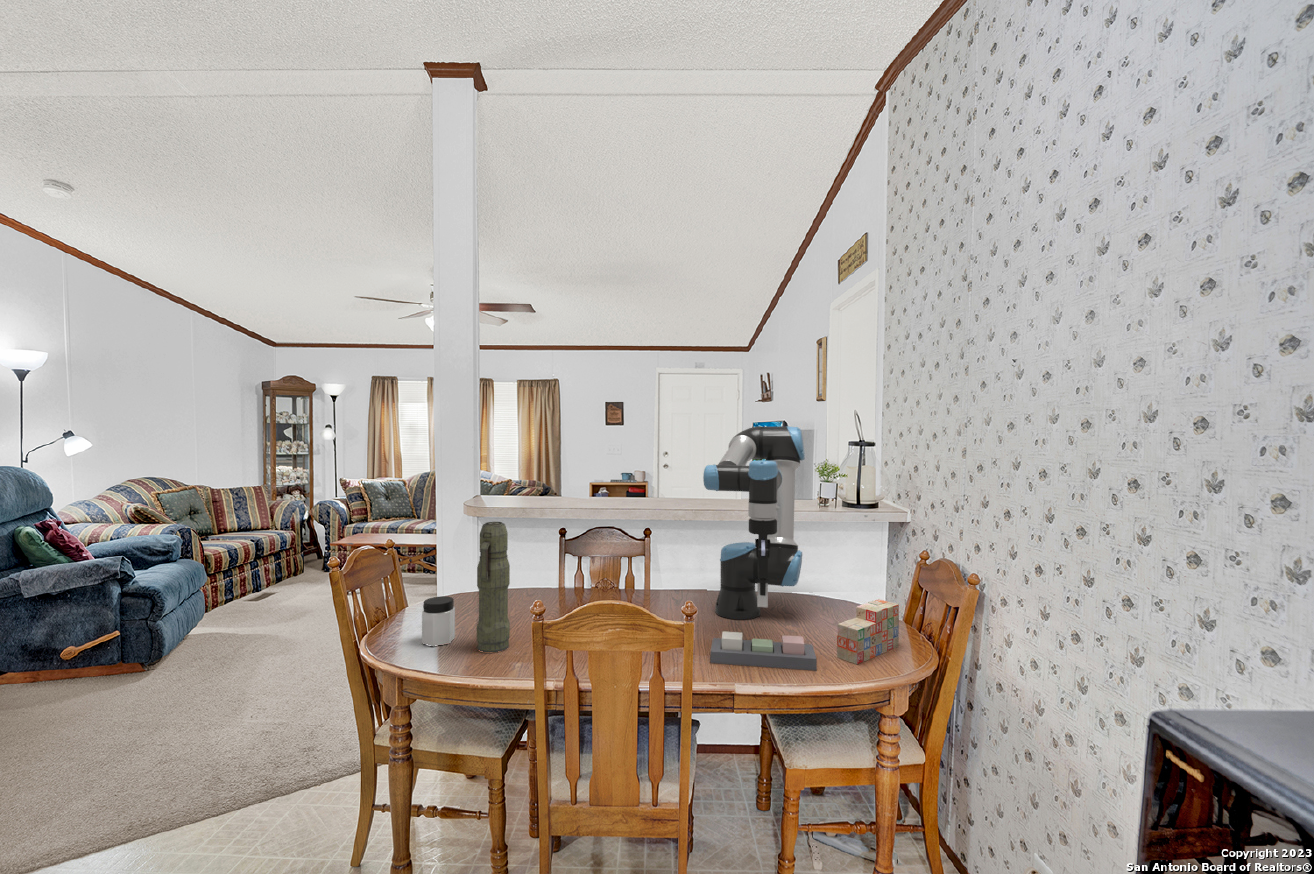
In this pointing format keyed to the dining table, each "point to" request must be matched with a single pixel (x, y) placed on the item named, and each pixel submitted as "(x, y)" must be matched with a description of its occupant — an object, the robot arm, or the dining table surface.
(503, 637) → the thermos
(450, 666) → the dining table surface
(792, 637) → the rose button
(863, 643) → the stack of blocks
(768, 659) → the button panel
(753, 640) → the sage button
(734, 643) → the white button
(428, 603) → the jar
